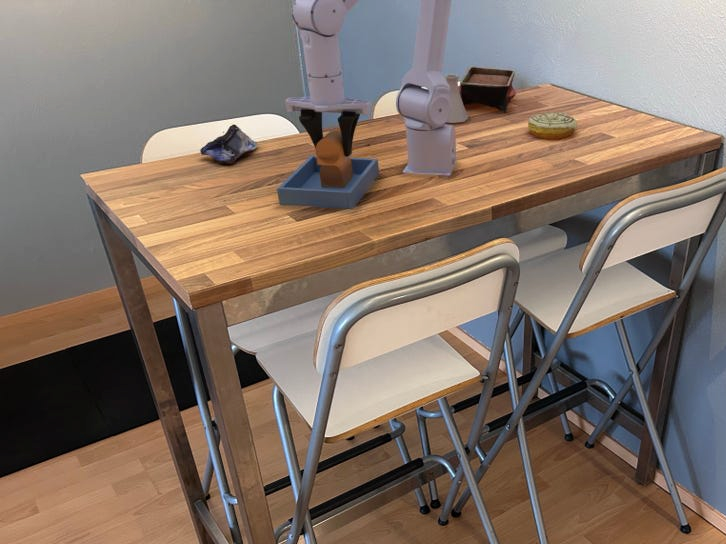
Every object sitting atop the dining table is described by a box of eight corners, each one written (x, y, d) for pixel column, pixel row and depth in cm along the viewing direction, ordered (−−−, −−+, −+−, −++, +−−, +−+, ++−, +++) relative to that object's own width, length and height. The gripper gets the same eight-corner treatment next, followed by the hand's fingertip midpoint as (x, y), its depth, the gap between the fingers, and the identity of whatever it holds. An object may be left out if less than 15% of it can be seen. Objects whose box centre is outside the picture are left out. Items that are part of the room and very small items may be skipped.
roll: (353, 176, 143) (350, 153, 140) (343, 187, 138) (341, 164, 136) (331, 175, 144) (328, 151, 141) (321, 186, 139) (318, 162, 136)
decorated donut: (585, 135, 164) (587, 118, 162) (547, 144, 160) (548, 126, 157) (556, 123, 172) (557, 106, 169) (519, 131, 167) (519, 114, 164)
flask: (467, 124, 171) (467, 79, 166) (436, 124, 172) (435, 79, 166) (468, 114, 177) (468, 71, 172) (438, 115, 178) (437, 71, 172)
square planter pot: (521, 106, 190) (520, 64, 186) (508, 115, 174) (507, 69, 170) (467, 107, 193) (465, 66, 189) (449, 116, 178) (446, 71, 173)
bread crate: (379, 176, 144) (377, 158, 142) (353, 212, 130) (350, 192, 128) (312, 173, 146) (310, 155, 144) (279, 207, 132) (276, 188, 130)
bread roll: (352, 154, 133) (349, 128, 130) (341, 166, 128) (338, 139, 125) (328, 153, 134) (325, 127, 131) (317, 164, 129) (313, 138, 126)
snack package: (272, 158, 154) (253, 141, 161) (262, 129, 149) (243, 113, 157) (217, 179, 150) (201, 161, 157) (205, 150, 145) (189, 133, 153)
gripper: (273, 78, 120) (286, 159, 128) (359, 81, 118) (367, 163, 126) (289, 67, 126) (301, 146, 134) (371, 70, 124) (378, 149, 132)
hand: (334, 153), depth 130 cm, fingers closed on bread roll, 4 cm apart
